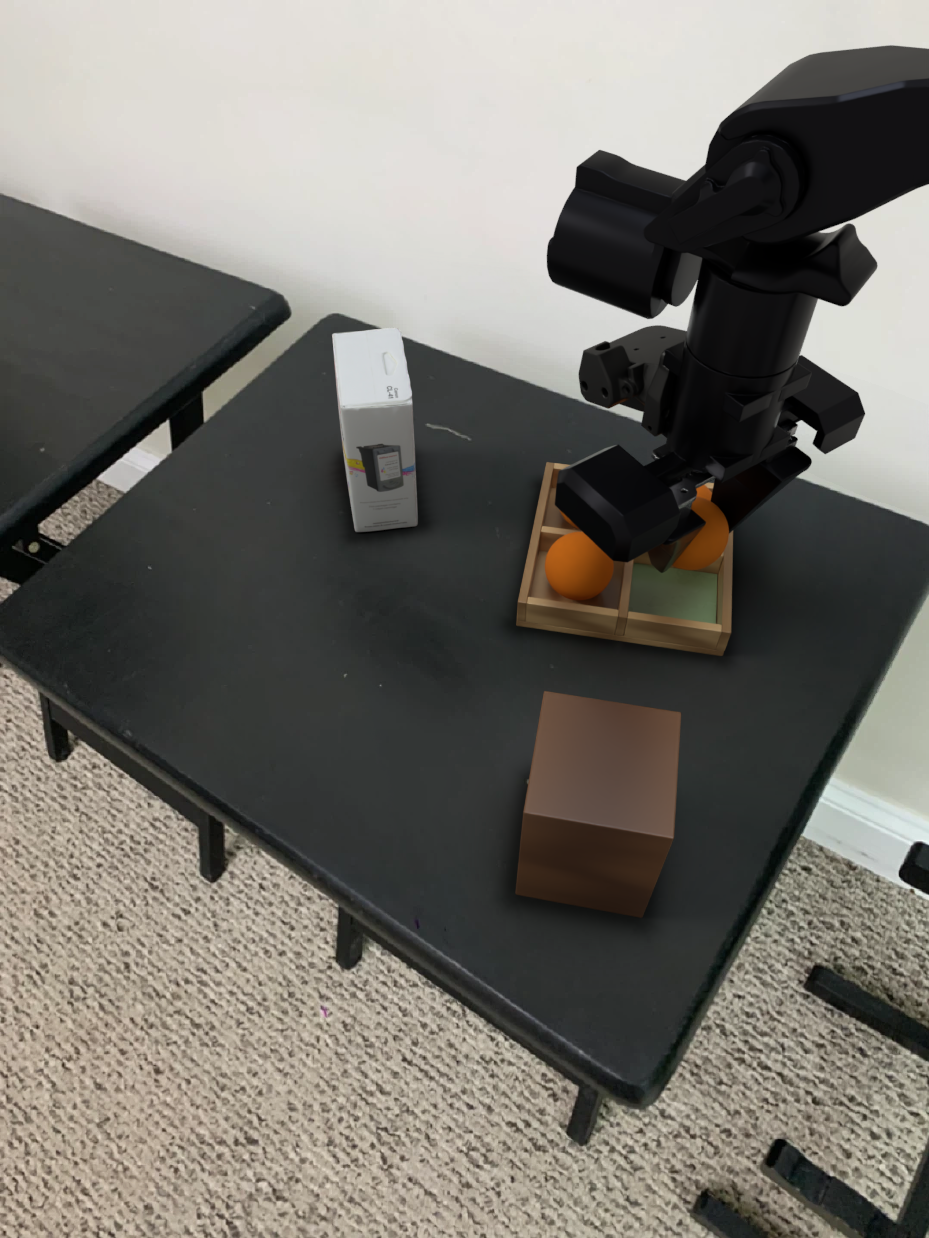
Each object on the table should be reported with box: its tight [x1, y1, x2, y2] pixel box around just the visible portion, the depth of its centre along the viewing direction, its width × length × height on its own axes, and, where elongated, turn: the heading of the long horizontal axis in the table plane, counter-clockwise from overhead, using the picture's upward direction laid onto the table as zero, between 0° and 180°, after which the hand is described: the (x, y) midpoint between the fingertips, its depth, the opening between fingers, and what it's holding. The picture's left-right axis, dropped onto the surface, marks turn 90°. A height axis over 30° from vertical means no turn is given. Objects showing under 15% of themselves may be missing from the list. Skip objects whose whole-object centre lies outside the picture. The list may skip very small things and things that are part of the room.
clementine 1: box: [545, 532, 614, 600], centre depth 62 cm, size 5×5×5 cm
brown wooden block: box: [515, 690, 682, 919], centre depth 49 cm, size 7×7×10 cm
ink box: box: [331, 327, 419, 533], centre depth 66 cm, size 9×5×12 cm, turn 9°
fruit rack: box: [515, 461, 734, 657], centre depth 65 cm, size 14×14×3 cm
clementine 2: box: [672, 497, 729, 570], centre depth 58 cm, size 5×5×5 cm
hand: (686, 552), depth 59 cm, fingers closed on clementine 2, 4 cm apart
